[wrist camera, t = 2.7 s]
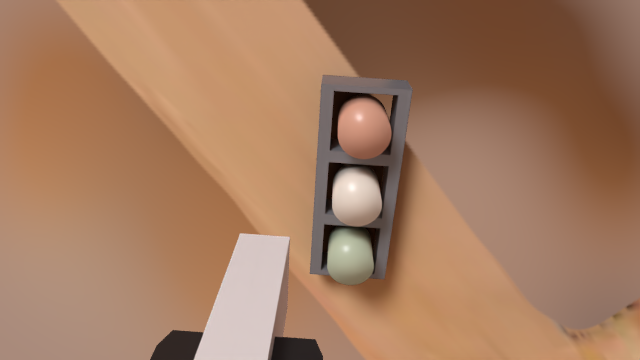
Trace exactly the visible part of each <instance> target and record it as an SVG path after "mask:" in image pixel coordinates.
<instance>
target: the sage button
mask: <svg viewBox="0 0 640 360" xmlns="http://www.w3.org/2000/svg"><path fill="white" fill-rule="evenodd" d="M327 269H328V272H329V274H330V276H331V277H332V278H333V279H334V280H335V281H337V282H339V283H341V284H345V285H356V284H360V283H362V282H364V281H366V280H367V279H368V278H369V277H370V276H371V274H372V272H373V269H374V262H373V253H372V244H371V237H370V234H369V232H368V231H367V229H366V228H364V227H355V226H341V225H338V226H336V227H335V228H334V229H333V230H332V231H331V233H330V235H329V238H328V260H327Z"/></svg>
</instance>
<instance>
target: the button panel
mask: <svg viewBox="0 0 640 360" xmlns="http://www.w3.org/2000/svg"><path fill="white" fill-rule="evenodd" d="M334 91H343V92H357V93H372V94H386V95H393V101H392V108H391V116H390V126H391V140H390V143H389V145H388V147H387V148H386V149H385V150H384V151H383V152H382V153H381V154H380V155H378V156H376V157H374V158H370V159H357V158H354V157H352V156H350V155H348V154H347V153H346V152H345V151H344V150H343V149H342V147H341V146H340V143H339V140H338V139H333V138H331V125H332V111H333V98H334ZM411 96H412V88H411V86H410V85H409V83H408V81H404V80H389V79H374V78H360V77H345V76H330V75H323V77H322V84H321V100H320V116H319V132H318V149H317V165H316V182H315V198H314V214H313V231H312V247H311V263H310V274H318V275H330V274H329V272H328V269H327V260H328V252H322V247H323V234H324V224H327V225H341V226H349V225H346V224H344V223H342V222H341V221H340V220H339V219H338V218H337V217H336V216H335V214H334V212H333V209H332V199H326V193H327V179H328V166H329V162H334V163H348V164H363V165H377V166H384V170H383V177H382V185H381V193H380V194H381V199H382V209H381V212H380V214H379V216H378V217H377V218H376V219H375V220H374V221H373V222H371V223H369V224H367V225H364V226H358V227H369V228H376V231H375V239H374V246H373V262H374V269H373V272H372V274H371V276H370V277H369V278H373V279H385V272H386V265H387V258H388V252H389V245H390V238H391V232H392V225H393V218H394V211H395V205H396V198H397V191H398V184H399V178H400V171H401V164H402V157H403V151H404V144H405V137H406V130H407V124H408V116H409V110H410V103H411ZM355 227H357V226H355Z"/></svg>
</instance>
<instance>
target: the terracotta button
mask: <svg viewBox="0 0 640 360" xmlns="http://www.w3.org/2000/svg"><path fill="white" fill-rule="evenodd" d="M338 140H339V143H340V146H341V147H342V149H343V150H344V151H345V152H346V153H347V154H348V155H350V156H352V157H354V158H357V159H370V158H374V157H376V156H378V155H380V154H381V153H382V152H383V151H384V150H385V149H386V148H387V147H388V145H389V143H390V140H391V126H390V123H389V120H388V117H387V113H386V110H385V108H384V106H383V104H382V103H381V102H380V101H379V100H378V99H377V98H375V97H373V96H370V95H366V94H360V95H355V96H353V97H351V98H349V99H348V100H346V101H345V102H344V103H343V105H342V106H341V108H340V110H339V113H338Z"/></svg>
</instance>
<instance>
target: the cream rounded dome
mask: <svg viewBox="0 0 640 360" xmlns="http://www.w3.org/2000/svg"><path fill="white" fill-rule="evenodd" d="M332 209H333V212H334V214H335V216H336V217H337V218H338V219H339V220H340V221H341V222H342V223H344V224H346V225H349V226H357V227H358V226H364V225H367V224H369V223H371V222H373V221H374V220H375V219H376V218H377V217H378V216H379V214H380V212H381V209H382V199H381V194H380V188H379V182H378V177H377V175H376V173H375V172H374V170H373V169H372V168H371V167H369V166H367V165H363V164H346V165H344V166H342V167H341V168H340V169H339V170H338V171H337V172H336V174H335V176H334V178H333V194H332Z"/></svg>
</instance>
